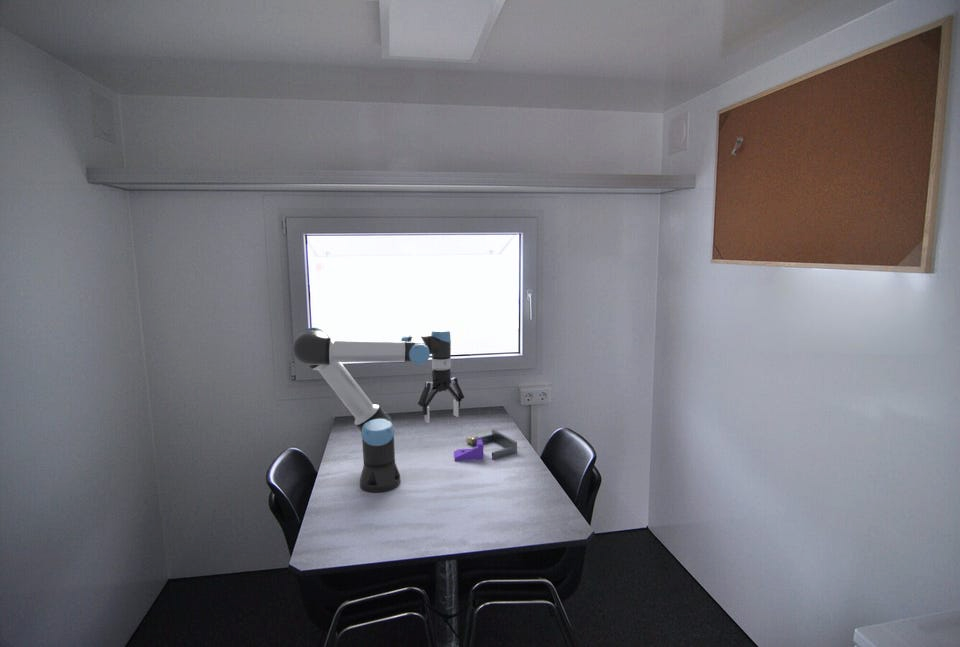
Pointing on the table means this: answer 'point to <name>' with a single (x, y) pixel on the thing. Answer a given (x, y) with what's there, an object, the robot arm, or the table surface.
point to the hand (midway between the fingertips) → (441, 418)
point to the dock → (501, 440)
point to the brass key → (470, 439)
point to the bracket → (470, 453)
